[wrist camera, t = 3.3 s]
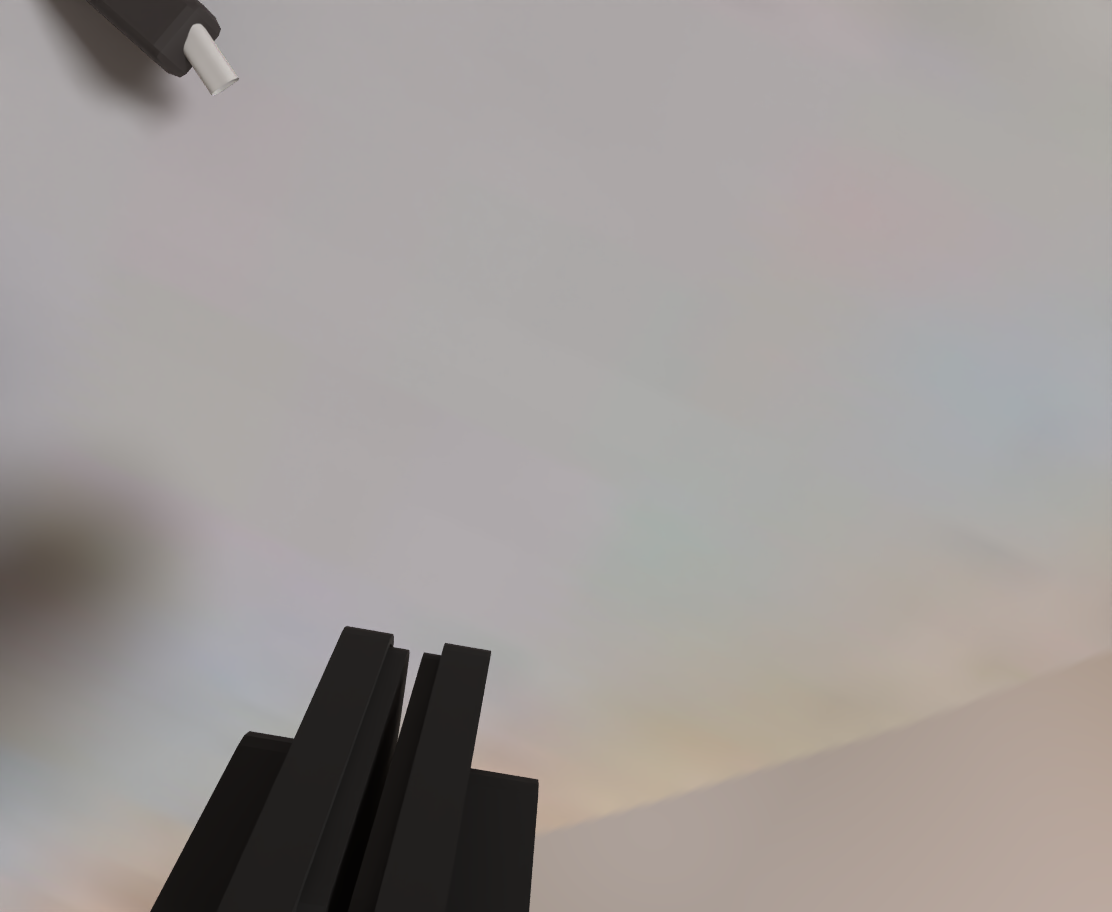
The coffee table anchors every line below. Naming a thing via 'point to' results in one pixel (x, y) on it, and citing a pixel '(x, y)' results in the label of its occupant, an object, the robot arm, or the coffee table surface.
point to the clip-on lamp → (173, 36)
